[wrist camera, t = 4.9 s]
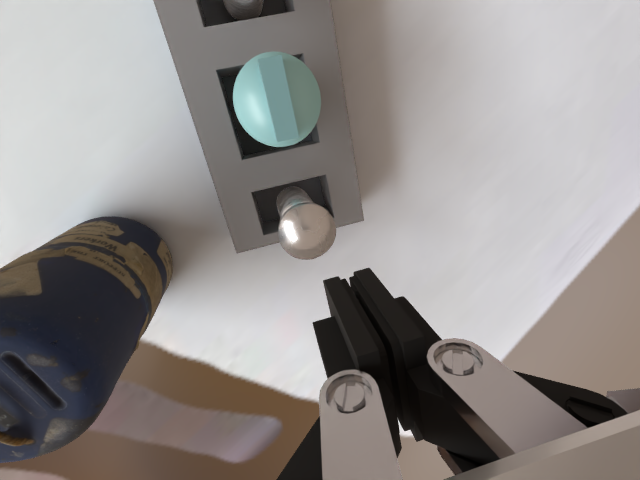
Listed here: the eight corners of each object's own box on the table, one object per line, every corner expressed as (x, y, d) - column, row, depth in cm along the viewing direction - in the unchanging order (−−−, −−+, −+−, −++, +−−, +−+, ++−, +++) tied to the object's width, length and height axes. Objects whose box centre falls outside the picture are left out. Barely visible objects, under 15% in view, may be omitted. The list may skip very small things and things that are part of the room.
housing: (153, -29, 24) (134, -57, 20) (308, -53, 25) (317, -84, 21) (238, 238, 32) (236, 253, 28) (351, 209, 33) (364, 220, 29)
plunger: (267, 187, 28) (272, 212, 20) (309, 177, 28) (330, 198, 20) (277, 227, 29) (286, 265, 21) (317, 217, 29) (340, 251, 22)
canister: (161, 204, 29) (39, 309, 13) (187, 293, 33) (118, 466, 16) (48, 221, 28) (-253, 361, 11) (88, 311, 31) (-99, 520, 15)
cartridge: (234, 86, 27) (218, 57, 15) (289, 76, 28) (314, 38, 16) (250, 143, 29) (246, 156, 17) (300, 132, 29) (332, 137, 18)
